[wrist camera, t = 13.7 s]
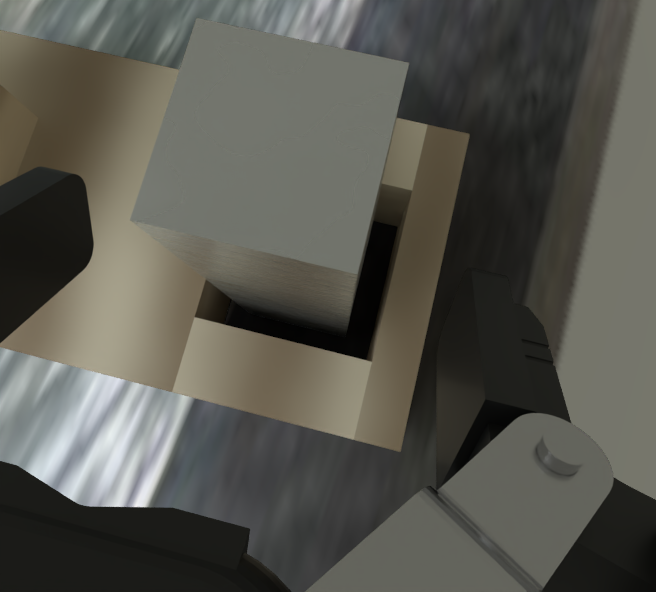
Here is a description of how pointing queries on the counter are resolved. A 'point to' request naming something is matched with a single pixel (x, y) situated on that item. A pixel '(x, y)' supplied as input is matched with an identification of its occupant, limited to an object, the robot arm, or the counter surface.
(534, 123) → the counter surface
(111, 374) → the post base
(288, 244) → the square post
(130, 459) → the counter surface
